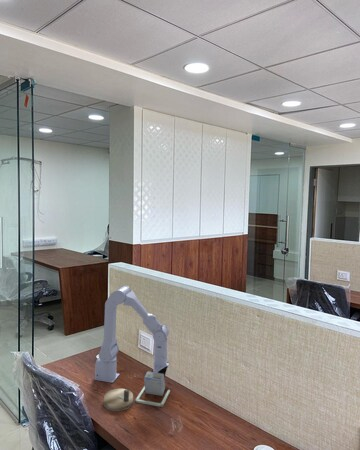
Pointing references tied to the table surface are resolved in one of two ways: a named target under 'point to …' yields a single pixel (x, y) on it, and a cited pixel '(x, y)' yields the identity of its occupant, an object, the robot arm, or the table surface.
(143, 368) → the table surface
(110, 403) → the disc
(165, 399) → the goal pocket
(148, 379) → the medicine box
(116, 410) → the base plate
